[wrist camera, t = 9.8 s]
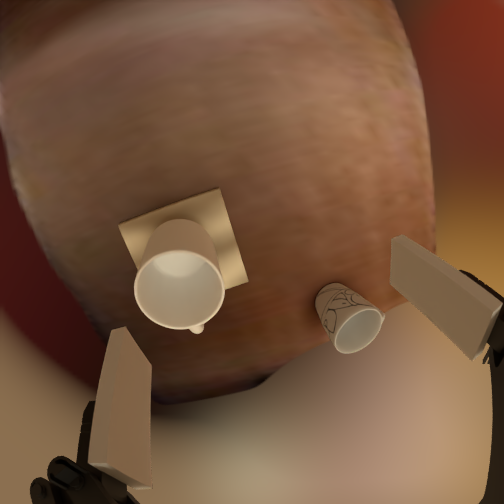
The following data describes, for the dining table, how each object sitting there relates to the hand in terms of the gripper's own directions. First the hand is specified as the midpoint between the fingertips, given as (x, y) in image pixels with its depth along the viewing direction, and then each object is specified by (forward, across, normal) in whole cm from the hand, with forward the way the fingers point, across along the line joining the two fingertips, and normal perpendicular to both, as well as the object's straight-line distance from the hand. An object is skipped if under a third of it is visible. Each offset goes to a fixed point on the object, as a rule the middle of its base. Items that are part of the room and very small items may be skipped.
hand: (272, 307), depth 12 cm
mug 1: (+22, -6, -7) cm, 24 cm away
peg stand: (+25, -6, -7) cm, 27 cm away
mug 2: (+25, +15, -24) cm, 38 cm away
